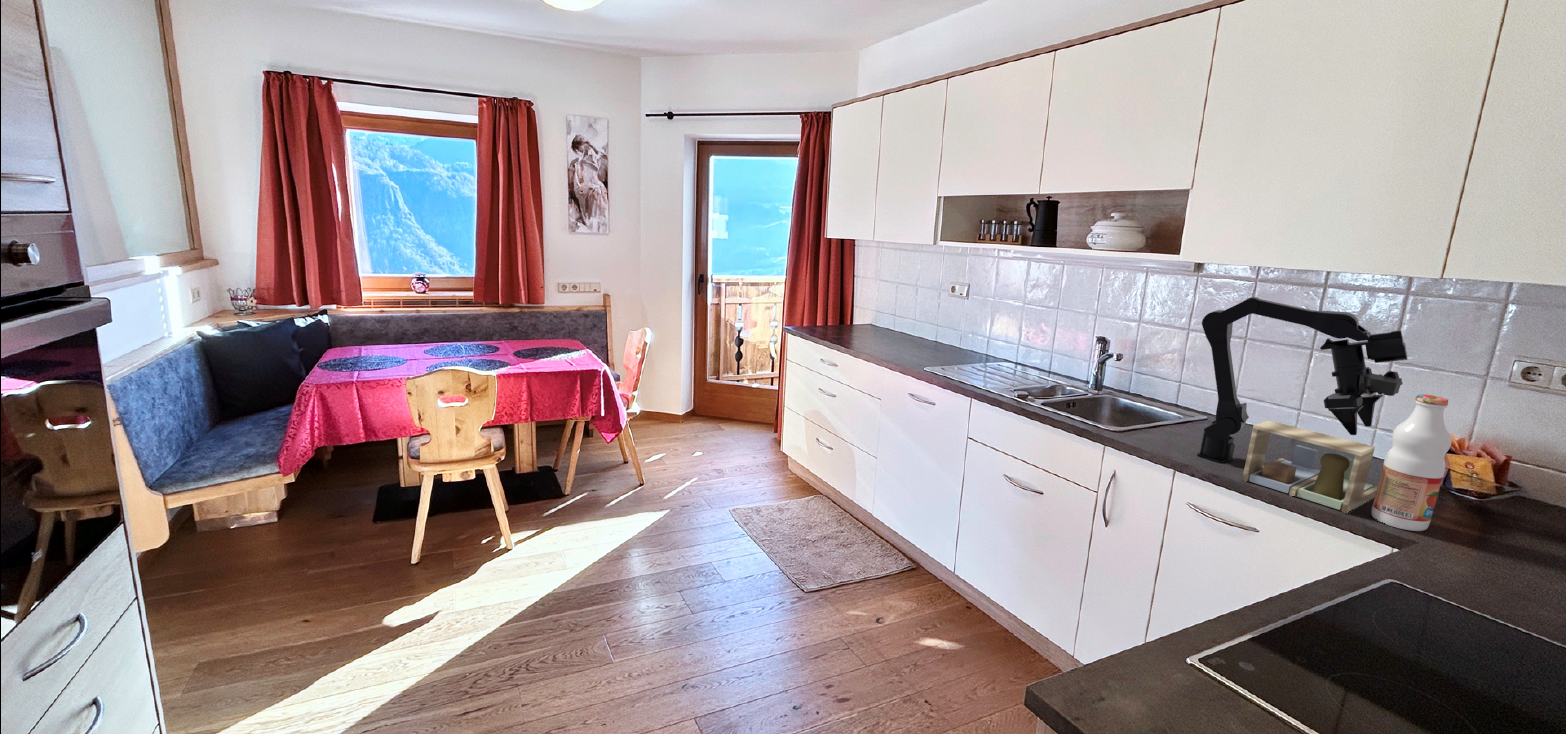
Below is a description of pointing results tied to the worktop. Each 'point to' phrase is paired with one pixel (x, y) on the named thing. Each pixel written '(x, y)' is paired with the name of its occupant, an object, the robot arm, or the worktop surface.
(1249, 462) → the board
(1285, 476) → the walnut cube
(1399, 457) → the fruit juice
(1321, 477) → the olive rounded upright piece
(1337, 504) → the pale green tray
